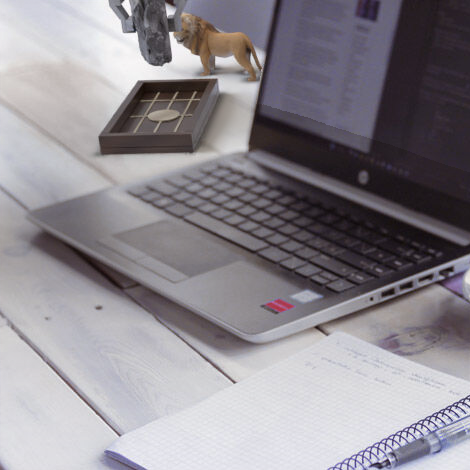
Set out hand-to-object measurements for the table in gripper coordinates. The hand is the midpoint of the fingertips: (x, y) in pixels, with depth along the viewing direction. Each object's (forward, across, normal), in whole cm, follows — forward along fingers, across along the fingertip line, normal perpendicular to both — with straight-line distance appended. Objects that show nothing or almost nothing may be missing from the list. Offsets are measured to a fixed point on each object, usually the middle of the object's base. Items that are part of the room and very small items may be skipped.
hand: (153, 31), depth 116 cm
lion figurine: (+12, +4, +20) cm, 24 cm away
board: (+12, 0, 0) cm, 12 cm away
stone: (+4, 0, 0) cm, 4 cm away
